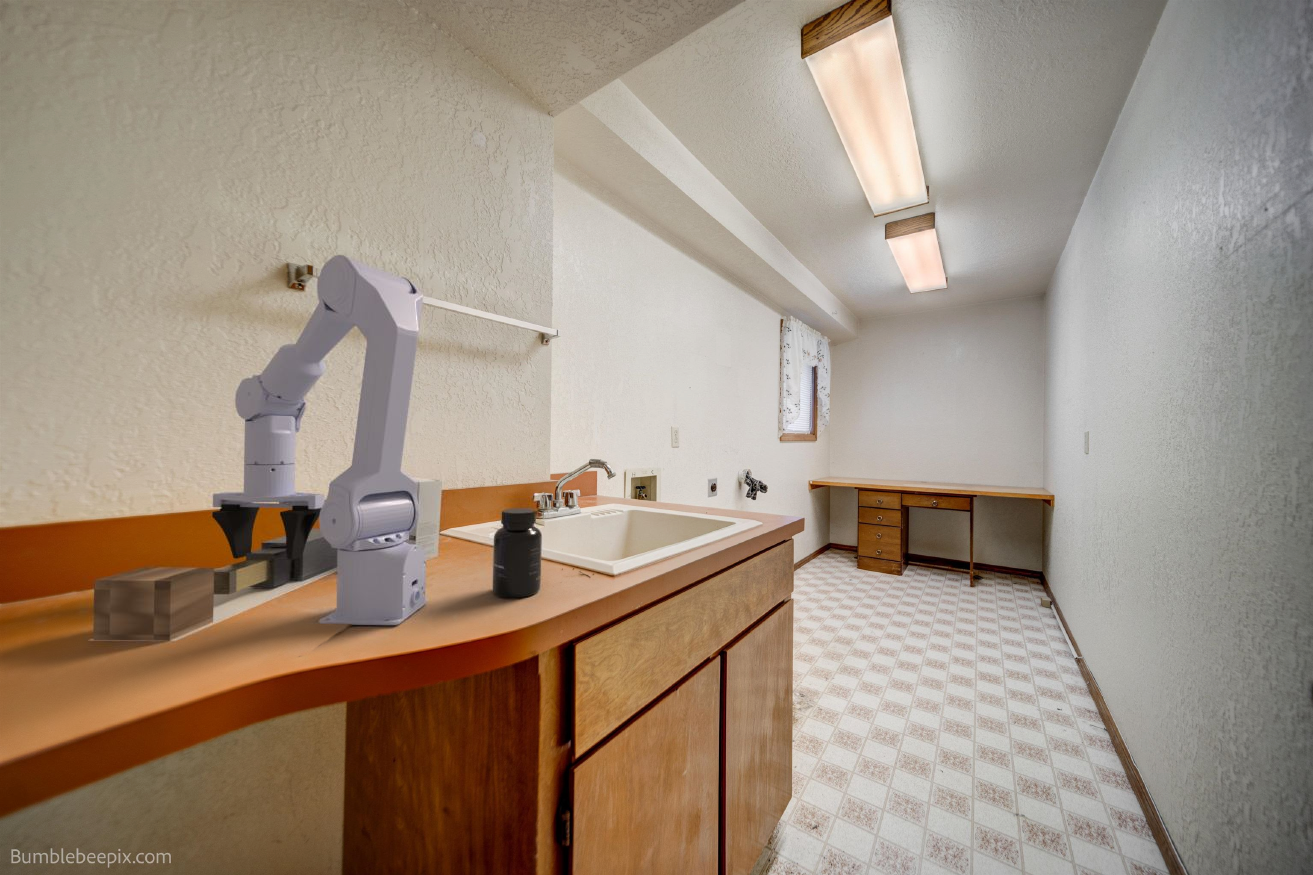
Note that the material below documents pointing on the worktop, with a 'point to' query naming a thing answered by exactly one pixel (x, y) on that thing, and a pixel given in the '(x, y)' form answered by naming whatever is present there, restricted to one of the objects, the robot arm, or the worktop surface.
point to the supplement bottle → (517, 555)
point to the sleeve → (309, 556)
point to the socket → (153, 603)
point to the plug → (255, 571)
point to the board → (246, 600)
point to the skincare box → (427, 516)
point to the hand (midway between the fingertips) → (268, 557)
